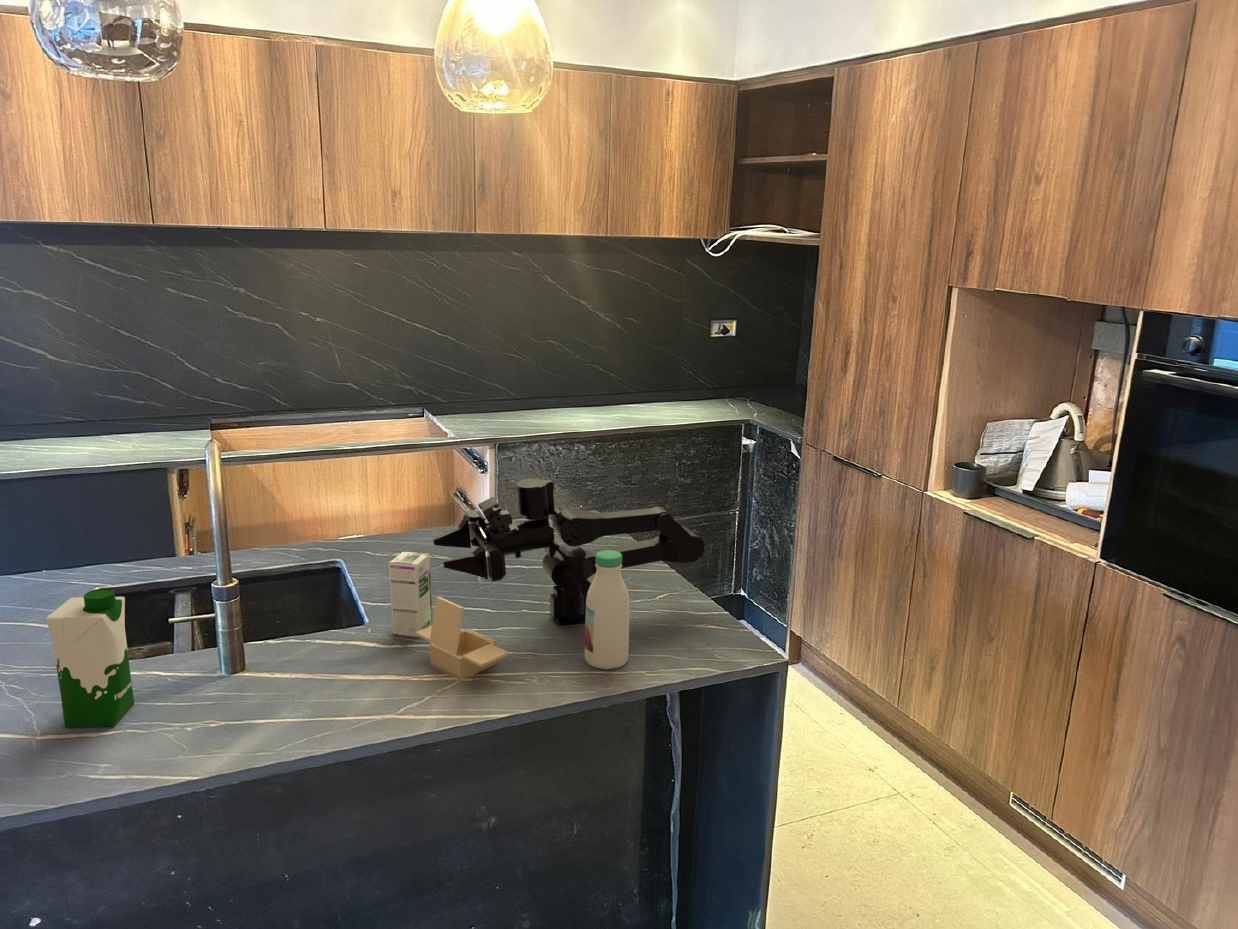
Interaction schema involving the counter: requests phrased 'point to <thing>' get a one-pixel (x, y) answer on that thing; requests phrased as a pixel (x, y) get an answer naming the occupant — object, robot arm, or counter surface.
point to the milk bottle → (607, 614)
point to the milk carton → (92, 659)
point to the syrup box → (410, 593)
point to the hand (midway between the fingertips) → (438, 553)
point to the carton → (464, 654)
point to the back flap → (446, 625)
